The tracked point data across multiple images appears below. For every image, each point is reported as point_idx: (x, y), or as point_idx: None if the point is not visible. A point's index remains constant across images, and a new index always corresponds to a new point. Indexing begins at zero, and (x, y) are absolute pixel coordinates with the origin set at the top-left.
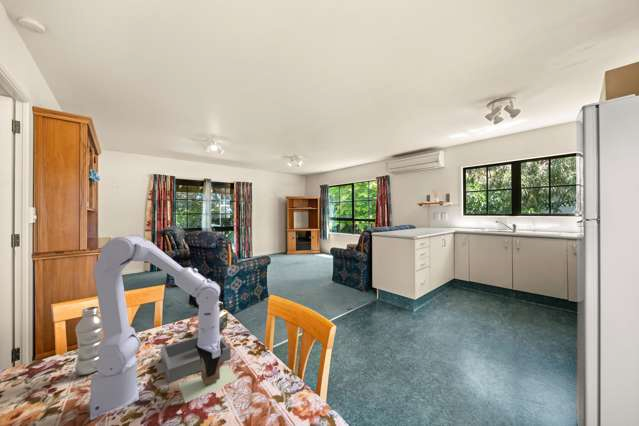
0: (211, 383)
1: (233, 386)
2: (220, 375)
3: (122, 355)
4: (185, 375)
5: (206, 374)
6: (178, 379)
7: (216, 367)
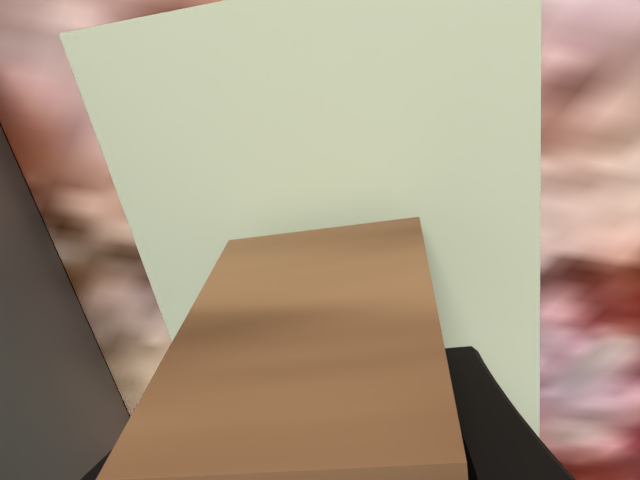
0: None
1: (606, 37)
2: (292, 173)
3: None
4: None
5: None
6: None
7: (524, 420)
